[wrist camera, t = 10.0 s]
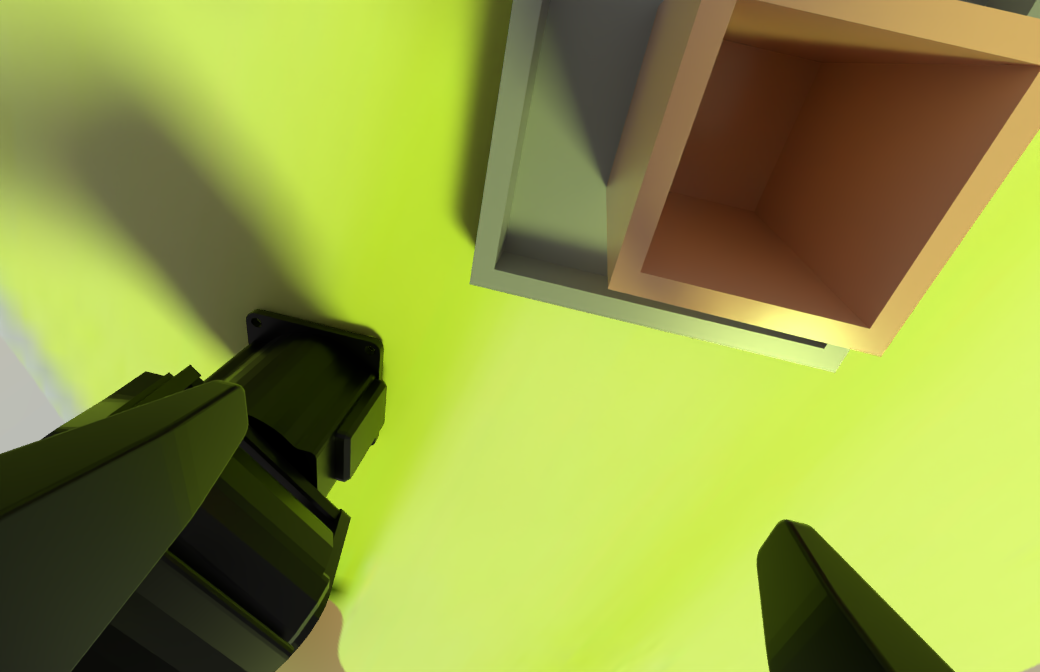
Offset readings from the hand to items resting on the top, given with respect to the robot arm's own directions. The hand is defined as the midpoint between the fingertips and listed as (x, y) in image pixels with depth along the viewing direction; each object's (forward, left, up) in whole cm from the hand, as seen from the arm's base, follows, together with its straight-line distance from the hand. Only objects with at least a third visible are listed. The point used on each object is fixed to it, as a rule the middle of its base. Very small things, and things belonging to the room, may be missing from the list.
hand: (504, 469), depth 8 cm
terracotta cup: (+4, +5, -12) cm, 14 cm away
